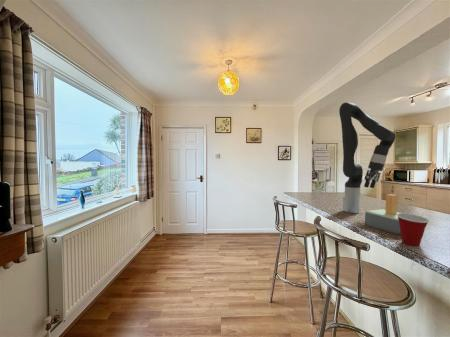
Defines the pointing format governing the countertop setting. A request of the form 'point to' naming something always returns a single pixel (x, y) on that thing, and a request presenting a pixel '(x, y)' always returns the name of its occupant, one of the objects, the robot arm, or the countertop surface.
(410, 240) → the plastic cup
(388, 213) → the lid
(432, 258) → the countertop surface
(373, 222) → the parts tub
